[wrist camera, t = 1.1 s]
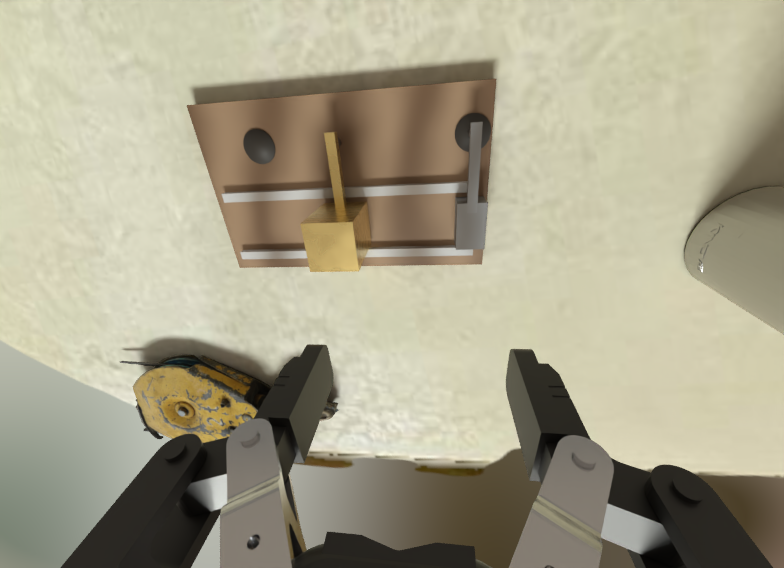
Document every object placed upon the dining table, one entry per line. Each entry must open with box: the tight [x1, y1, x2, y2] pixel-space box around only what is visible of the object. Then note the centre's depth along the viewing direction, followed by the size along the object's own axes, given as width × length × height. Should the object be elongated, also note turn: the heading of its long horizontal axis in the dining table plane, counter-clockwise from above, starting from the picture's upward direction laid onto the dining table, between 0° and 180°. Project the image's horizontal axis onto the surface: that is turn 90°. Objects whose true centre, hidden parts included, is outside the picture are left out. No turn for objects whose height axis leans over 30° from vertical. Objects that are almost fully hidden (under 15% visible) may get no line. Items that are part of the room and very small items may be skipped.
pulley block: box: [120, 354, 338, 443], centre depth 43 cm, size 14×6×30 cm
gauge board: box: [187, 79, 496, 268], centre depth 28 cm, size 25×15×4 cm, turn 94°
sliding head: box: [300, 132, 371, 272], centre depth 25 cm, size 4×10×6 cm, turn 4°
